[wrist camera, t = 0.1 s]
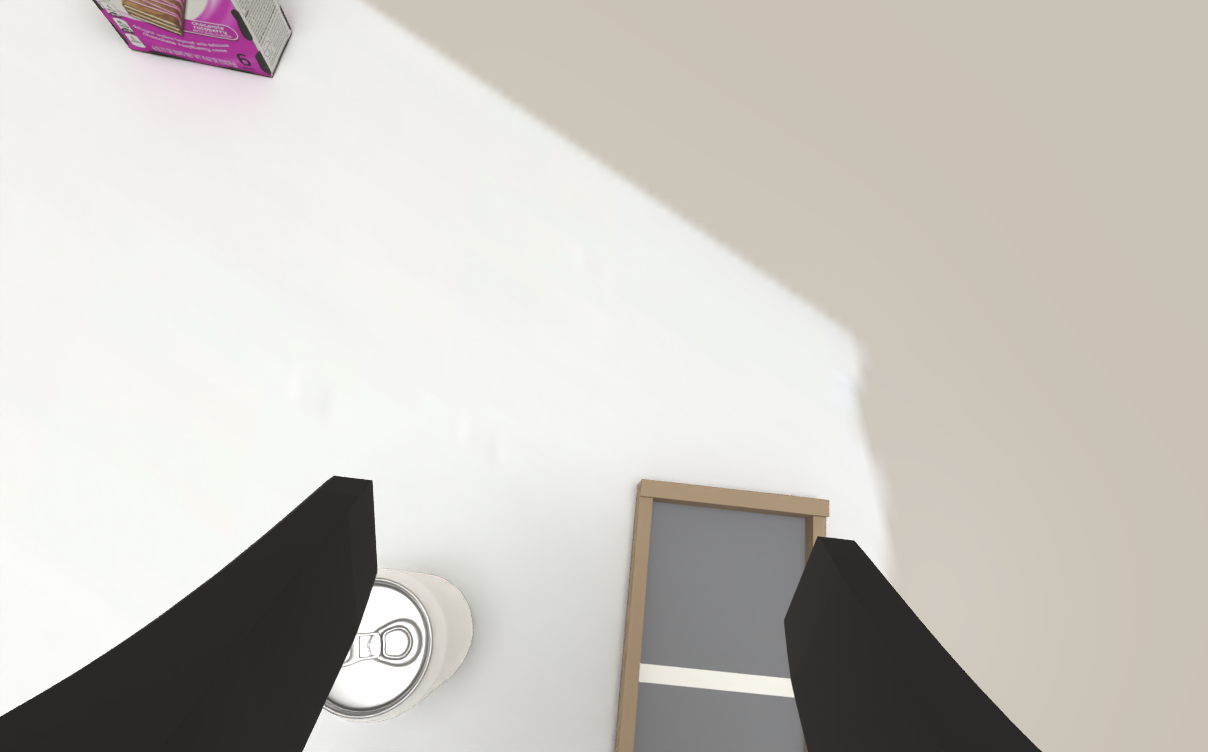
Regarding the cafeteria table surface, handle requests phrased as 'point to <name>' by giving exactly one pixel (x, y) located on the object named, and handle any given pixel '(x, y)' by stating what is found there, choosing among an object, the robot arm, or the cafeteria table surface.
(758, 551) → the lane
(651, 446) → the cafeteria table surface
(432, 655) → the can
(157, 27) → the candy bar box
